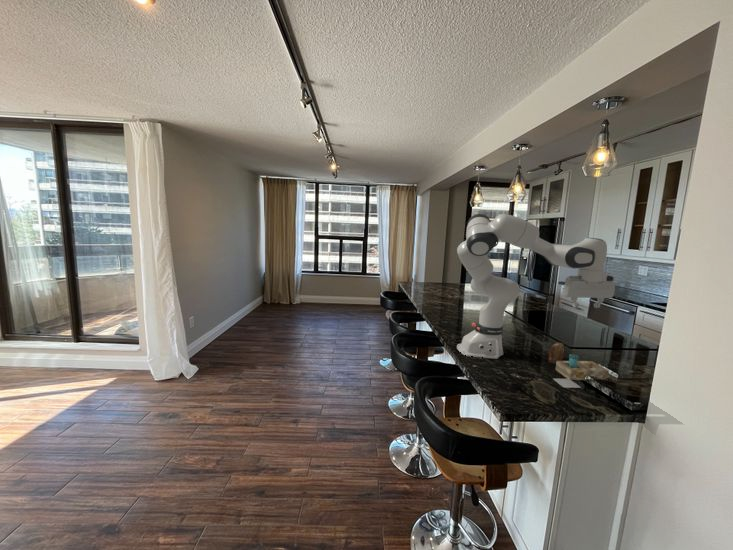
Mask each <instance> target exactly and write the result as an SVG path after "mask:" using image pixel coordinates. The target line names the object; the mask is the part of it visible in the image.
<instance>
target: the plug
mask: <svg viewBox="0 0 733 550" xmlns="http://www.w3.org/2000/svg"><path fill="white" fill-rule="evenodd" d="M568 358H569V359H568V361H569V364H568V366H569V367H571V368H577V362H578V361H579V359H580V356H579V355H578V354H574V353H569V354H568Z"/></svg>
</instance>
